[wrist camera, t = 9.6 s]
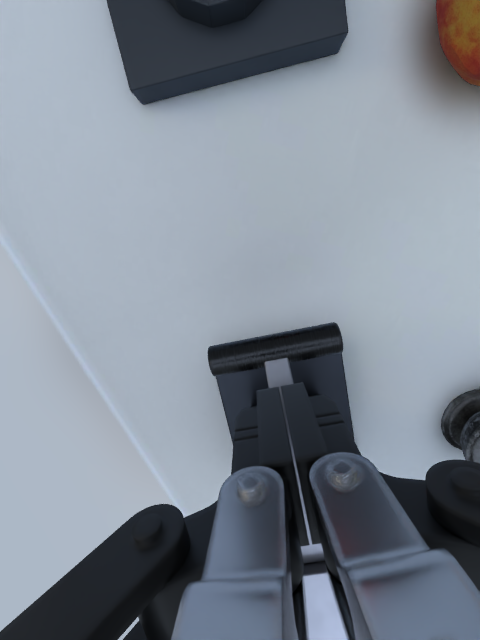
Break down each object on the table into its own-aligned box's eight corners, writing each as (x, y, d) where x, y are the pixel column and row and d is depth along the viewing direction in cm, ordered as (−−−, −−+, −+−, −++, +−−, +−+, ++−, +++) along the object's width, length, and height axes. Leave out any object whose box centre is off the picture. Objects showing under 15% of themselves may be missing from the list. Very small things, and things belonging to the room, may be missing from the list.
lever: (214, 349, 17) (203, 343, 15) (331, 326, 16) (339, 316, 14) (257, 624, 14) (252, 670, 12) (399, 607, 14) (422, 652, 11)
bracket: (214, 357, 25) (162, 533, 10) (335, 334, 24) (461, 490, 10) (247, 488, 28) (242, 766, 13) (356, 472, 27) (474, 748, 13)
